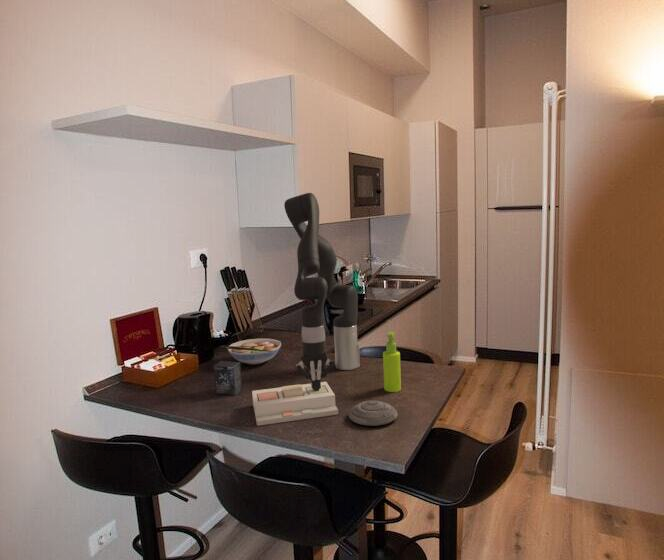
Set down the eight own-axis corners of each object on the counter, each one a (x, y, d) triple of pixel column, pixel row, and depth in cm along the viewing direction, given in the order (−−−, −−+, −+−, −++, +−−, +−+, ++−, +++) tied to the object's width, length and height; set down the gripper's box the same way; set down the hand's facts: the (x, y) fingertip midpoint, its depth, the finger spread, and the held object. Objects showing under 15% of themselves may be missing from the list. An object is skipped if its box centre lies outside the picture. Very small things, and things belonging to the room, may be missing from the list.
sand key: (300, 392, 166) (299, 384, 165) (303, 399, 160) (303, 390, 160) (282, 395, 164) (281, 386, 164) (284, 402, 159) (284, 392, 158)
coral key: (276, 400, 164) (276, 391, 164) (278, 407, 158) (278, 398, 158) (258, 402, 163) (257, 394, 162) (259, 410, 157) (259, 400, 157)
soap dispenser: (403, 385, 178) (401, 330, 175) (399, 392, 171) (397, 336, 168) (386, 384, 180) (385, 330, 177) (382, 391, 173) (380, 335, 170)
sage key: (324, 394, 168) (323, 385, 167) (328, 400, 162) (327, 392, 161) (306, 396, 166) (306, 388, 166) (309, 403, 161) (309, 394, 160)
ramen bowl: (294, 356, 218) (293, 338, 217) (266, 373, 198) (265, 353, 196) (246, 352, 228) (244, 335, 227) (215, 368, 208) (213, 348, 207)
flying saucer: (372, 404, 163) (371, 388, 162) (408, 418, 151) (407, 400, 150) (338, 419, 153) (337, 402, 152) (373, 434, 142) (372, 416, 141)
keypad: (326, 395, 172) (326, 381, 171) (338, 414, 156) (337, 399, 155) (253, 405, 166) (252, 390, 166) (257, 425, 150) (255, 410, 150)
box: (215, 394, 178) (213, 365, 177) (223, 388, 183) (221, 360, 182) (235, 395, 176) (232, 366, 174) (242, 389, 181) (240, 361, 180)
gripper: (330, 334, 166) (333, 383, 169) (291, 338, 163) (294, 388, 166) (336, 339, 159) (338, 391, 161) (295, 343, 156) (298, 396, 159)
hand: (316, 390), depth 164 cm, fingers closed
